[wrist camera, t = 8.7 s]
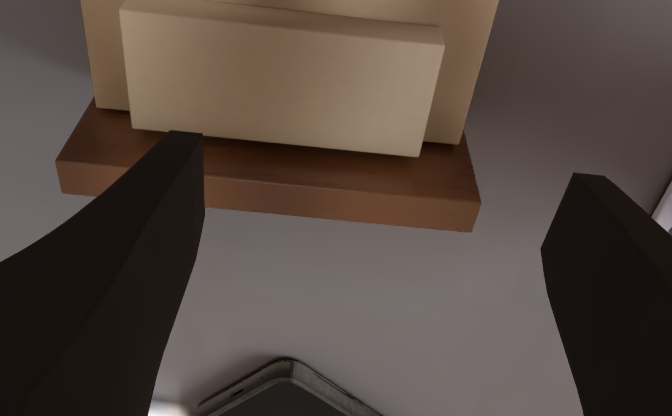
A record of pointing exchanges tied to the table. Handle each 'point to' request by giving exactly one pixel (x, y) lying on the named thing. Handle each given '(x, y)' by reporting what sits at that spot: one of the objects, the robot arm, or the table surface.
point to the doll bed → (291, 103)
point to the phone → (284, 395)
